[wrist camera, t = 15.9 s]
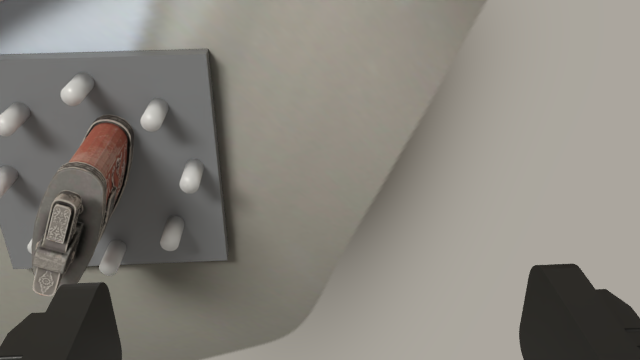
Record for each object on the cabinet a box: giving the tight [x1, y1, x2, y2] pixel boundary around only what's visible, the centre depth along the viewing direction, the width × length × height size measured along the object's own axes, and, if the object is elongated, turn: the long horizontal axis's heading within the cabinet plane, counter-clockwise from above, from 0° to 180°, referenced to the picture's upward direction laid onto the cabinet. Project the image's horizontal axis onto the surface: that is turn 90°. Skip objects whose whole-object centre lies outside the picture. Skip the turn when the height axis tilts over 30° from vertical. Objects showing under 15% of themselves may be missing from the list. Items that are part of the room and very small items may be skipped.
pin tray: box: [0, 49, 229, 276], centre depth 39 cm, size 15×15×4 cm
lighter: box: [31, 115, 134, 296], centre depth 35 cm, size 8×3×10 cm, turn 158°
